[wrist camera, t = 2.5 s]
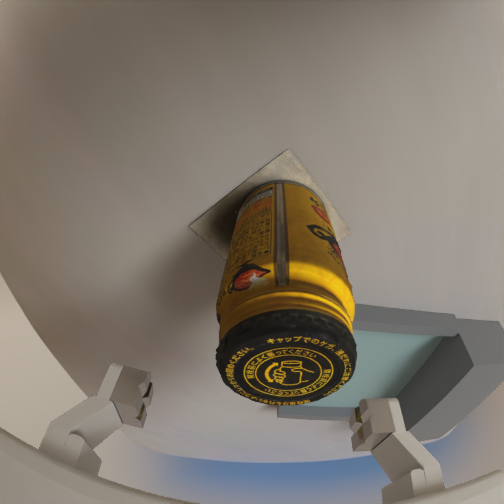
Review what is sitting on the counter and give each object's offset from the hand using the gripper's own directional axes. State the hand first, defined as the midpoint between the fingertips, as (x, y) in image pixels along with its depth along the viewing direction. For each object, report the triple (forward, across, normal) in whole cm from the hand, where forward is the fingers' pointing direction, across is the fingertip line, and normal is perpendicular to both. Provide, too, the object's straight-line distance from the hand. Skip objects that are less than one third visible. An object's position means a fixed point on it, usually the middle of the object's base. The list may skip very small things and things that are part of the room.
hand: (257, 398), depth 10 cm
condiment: (+13, 0, -1) cm, 13 cm away
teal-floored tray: (+13, -16, +13) cm, 24 cm away
